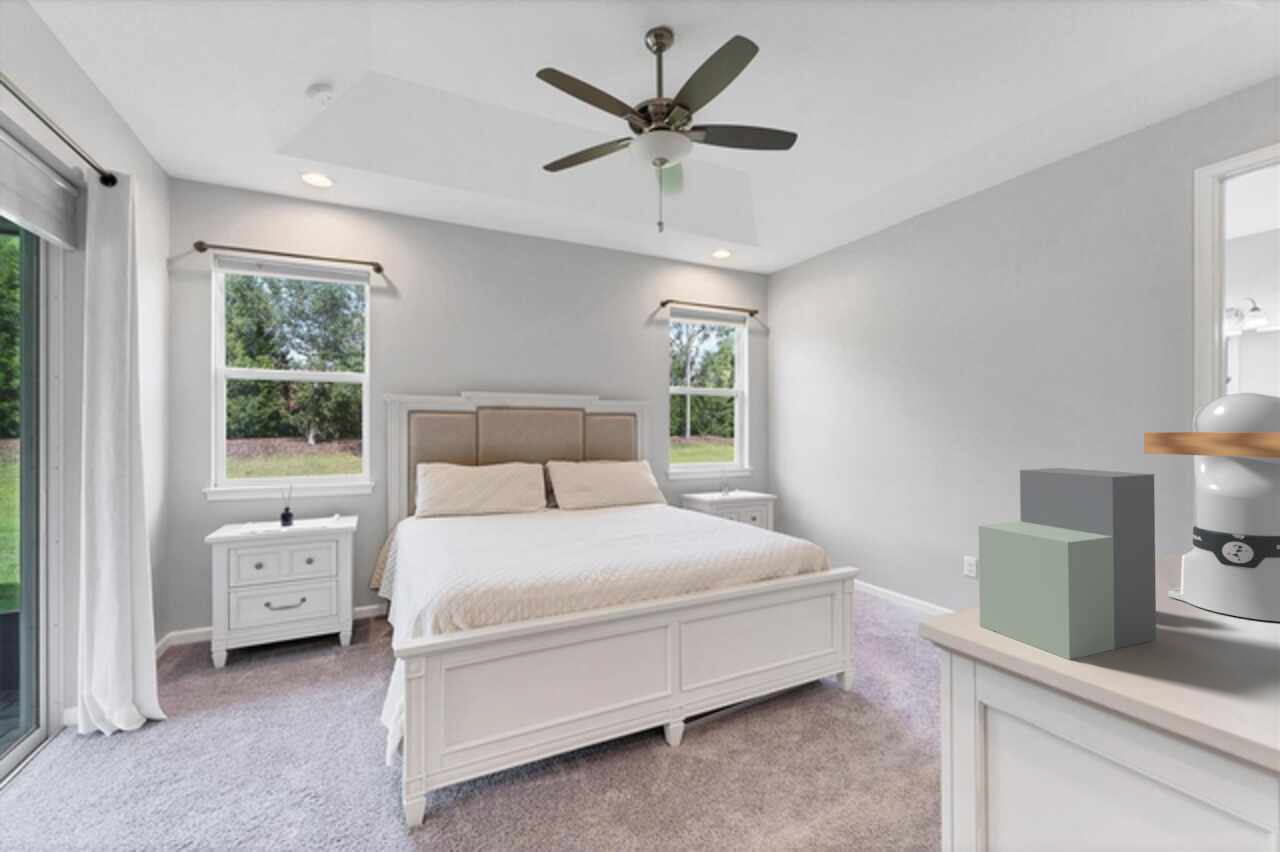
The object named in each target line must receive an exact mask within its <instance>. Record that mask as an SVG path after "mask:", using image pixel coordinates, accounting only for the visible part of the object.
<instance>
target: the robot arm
mask: <svg viewBox="0 0 1280 852" xmlns="http://www.w3.org/2000/svg"><path fill="white" fill-rule="evenodd" d="M1192 432H1268V433H1280V396H1274V395H1267V394H1261V393H1254V392H1239V393H1232V394H1227V395H1222V396H1218V397H1215V398H1213V399H1210V400H1209V401H1206V402H1205V403H1204V404H1203V405H1201V406H1200V407H1199V408H1198V409H1197V410H1196V411H1195V414H1194V415H1193V419H1192ZM1193 464H1194V480H1195V481H1194V482H1195V525H1194V526H1193V527H1192V533H1191V538H1192V545H1193V546H1194V547H1193V548H1192V549H1191V550H1190V551H1188V552H1186V553H1185V554H1183V555H1182V556H1181V572H1180V573H1181V575H1180V576H1181V578H1180V581H1181V582H1180V586H1178V587H1175V588H1173V589H1169V590H1168V592H1167V596H1168V597H1169V598H1172V599H1173V598H1174V599H1177V600H1179V601H1184V602H1185V603H1187V604H1190V605H1192V606H1195V607H1197V608H1202V609H1204V610H1208V611H1212V612H1215V613H1219V614H1225V615H1230V616H1235V617H1240V618H1241V617H1242V618H1245V619H1252V620H1262V621H1267V622H1269V621H1270V622H1271V621H1272V622H1280V458H1266V457H1236V456H1206V455H1193Z"/></svg>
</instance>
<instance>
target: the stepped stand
mask: <svg viewBox="0 0 1280 852" xmlns="http://www.w3.org/2000/svg"><path fill="white" fill-rule="evenodd" d="M1019 482H1020V483H1019V486H1020V487H1019V488H1020V489H1019V491H1020V493H1019V495H1020V496H1019V497H1020V498H1019V500H1020V501H1019V502H1020V503H1019V504H1020V511H1019V512H1020V521H1013V522H1003V523H1001V522H1000V523H995V524H994V523H992V524H982V525H978V565H979V566H978V571H979V574H978V575H979V577H978V578H979V579H978V584H979V585H978V586H979V592H978V593H979V627H981V628H984V627H985V628H984V629H986V628H987V630H989V629H990V630H989V631H992V630H993V631H992V632H994V631H996V632H995V633H997V632H998V633H997V634H1000V635H1002V634H1003V636H1005V635H1006V637H1008V638H1010V639H1014V640H1016V641H1018V642H1021V643H1024V644H1026V645H1028V646H1029V645H1030V646H1032V647H1034V648H1036V649H1040V650H1043V651H1045V652H1048V653H1051V654H1054V655H1055V656H1059V657H1060V658H1064V659H1067V660H1074V659H1078V658H1082V657H1087V656H1090V655H1096V654H1100V653H1104V652H1111V651H1113V650H1117V649H1122V648H1127V647H1130V646H1135V645H1138V644H1143V643H1148V642H1153V641H1156V640H1157V612H1156V609H1157V605H1156V601H1157V600H1156V596H1157V595H1156V590H1157V589H1156V527H1155V526H1156V523H1155V521H1156V519H1155V518H1156V517H1155V474H1154V473H1141V472H1139V473H1138V472H1128V471H1127V472H1126V471H1125V472H1123V471H1110V470H1094V469H1083V468H1082V469H1081V468H1080V469H1079V468H1065V467H1054V468H1052V467H1051V468H1037V469H1036V468H1035V469H1020V470H1019Z"/></svg>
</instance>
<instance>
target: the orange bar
mask: <svg viewBox="0 0 1280 852" xmlns="http://www.w3.org/2000/svg"><path fill="white" fill-rule="evenodd" d="M1143 452H1144V454H1150V455H1151V454H1152V455H1156V454H1157V455H1178V456H1181V455H1182V456H1187V455H1188V456H1194V455H1206V456H1236V457H1266V458H1280V433H1268V432H1193V431H1191V432H1189V431H1188V432H1187V431H1183V432H1181V431H1164V432H1163V431H1154V432H1153V431H1152V432H1151V431H1149V432H1147V431H1146V432H1143Z"/></svg>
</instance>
